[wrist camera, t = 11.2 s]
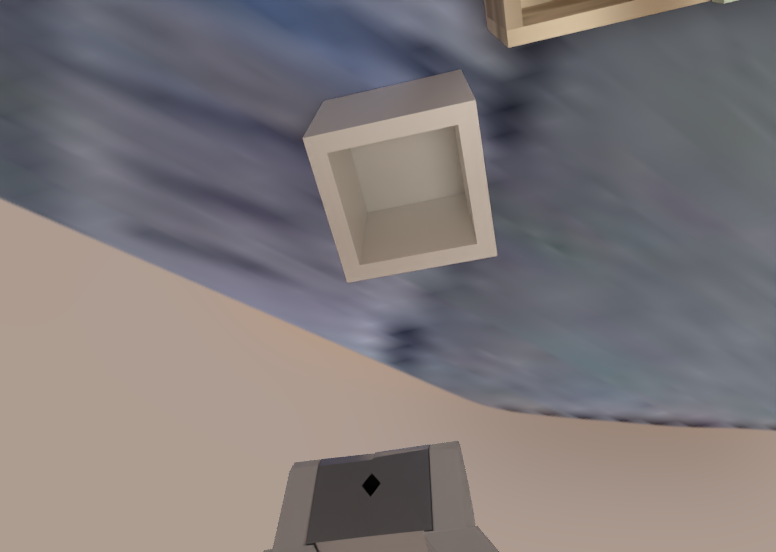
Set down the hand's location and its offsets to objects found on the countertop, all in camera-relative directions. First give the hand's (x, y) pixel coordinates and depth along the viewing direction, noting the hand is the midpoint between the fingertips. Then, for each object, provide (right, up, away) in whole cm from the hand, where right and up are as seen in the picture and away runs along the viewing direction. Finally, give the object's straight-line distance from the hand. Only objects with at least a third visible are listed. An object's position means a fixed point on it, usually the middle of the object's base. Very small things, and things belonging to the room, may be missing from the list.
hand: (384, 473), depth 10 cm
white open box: (+1, +10, +19) cm, 21 cm away
